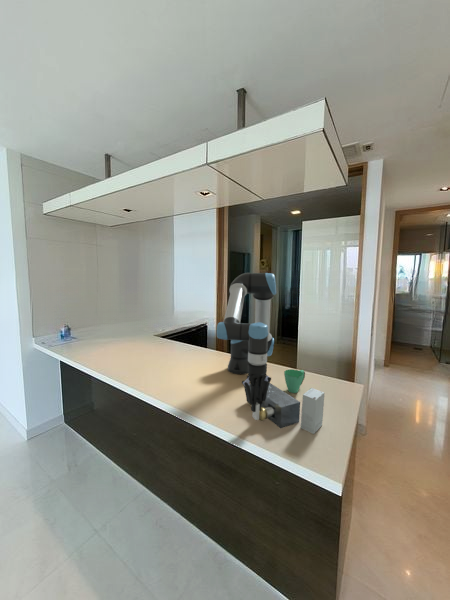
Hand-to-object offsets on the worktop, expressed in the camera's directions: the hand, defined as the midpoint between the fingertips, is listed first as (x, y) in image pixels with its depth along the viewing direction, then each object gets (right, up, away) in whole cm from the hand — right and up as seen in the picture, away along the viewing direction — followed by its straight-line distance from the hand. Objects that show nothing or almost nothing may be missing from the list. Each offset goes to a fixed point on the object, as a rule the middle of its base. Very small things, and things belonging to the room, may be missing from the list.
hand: (255, 418), depth 107 cm
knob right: (+7, -1, +4) cm, 8 cm away
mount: (+9, -2, +12) cm, 15 cm away
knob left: (+4, 0, +16) cm, 16 cm away
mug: (+25, 0, +34) cm, 42 cm away
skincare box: (+23, -4, 0) cm, 23 cm away
